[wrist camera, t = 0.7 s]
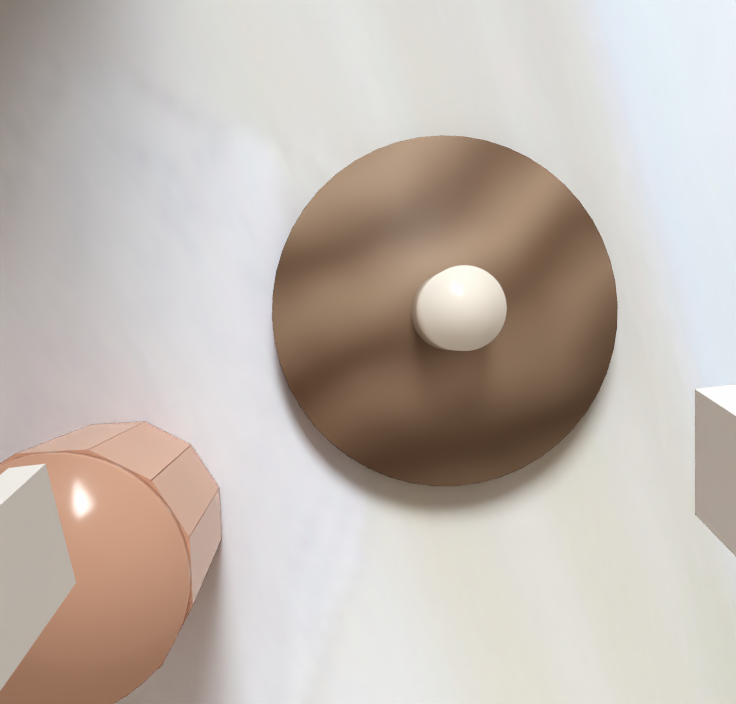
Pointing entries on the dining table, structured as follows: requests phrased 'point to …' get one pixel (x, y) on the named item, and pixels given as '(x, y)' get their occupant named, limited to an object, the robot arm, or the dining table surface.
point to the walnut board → (393, 311)
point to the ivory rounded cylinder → (459, 309)
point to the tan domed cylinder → (119, 559)
